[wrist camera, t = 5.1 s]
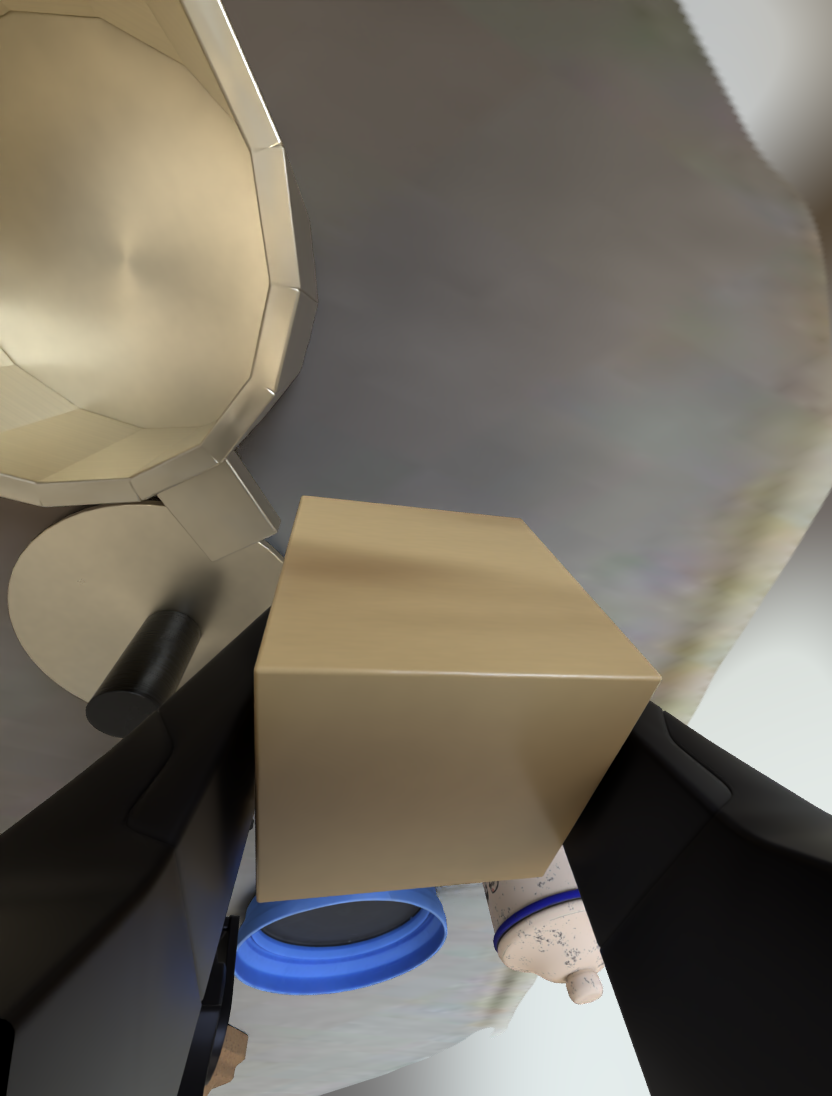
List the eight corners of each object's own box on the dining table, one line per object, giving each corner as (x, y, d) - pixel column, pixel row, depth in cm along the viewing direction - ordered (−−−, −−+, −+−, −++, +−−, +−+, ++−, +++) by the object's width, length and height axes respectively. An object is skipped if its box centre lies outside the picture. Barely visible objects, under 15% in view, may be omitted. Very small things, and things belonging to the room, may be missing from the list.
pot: (155, 539, 19) (65, 639, 13) (-345, -28, 10) (-1347, -542, 4) (399, 425, 18) (425, 474, 12) (83, -300, 9) (-392, -1430, 3)
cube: (472, 674, 12) (543, 878, 7) (292, 671, 11) (255, 905, 6) (521, 517, 10) (666, 678, 5) (300, 494, 9) (252, 669, 4)
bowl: (385, 822, 32) (389, 874, 29) (467, 900, 41) (477, 946, 38) (193, 904, 34) (178, 962, 31) (311, 962, 43) (309, 1012, 40)
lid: (157, 738, 25) (105, 851, 19) (-52, 571, 18) (-217, 672, 13) (357, 652, 24) (360, 745, 19) (213, 443, 17) (153, 496, 12)
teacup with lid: (480, 757, 30) (547, 974, 20) (586, 759, 32) (694, 956, 22) (439, 847, 36) (476, 1054, 25) (533, 843, 38) (601, 1033, 28)
